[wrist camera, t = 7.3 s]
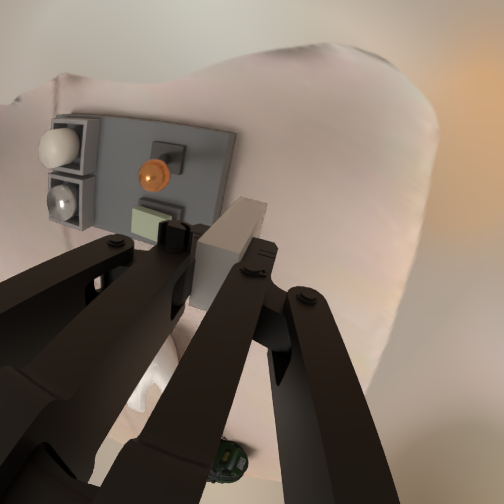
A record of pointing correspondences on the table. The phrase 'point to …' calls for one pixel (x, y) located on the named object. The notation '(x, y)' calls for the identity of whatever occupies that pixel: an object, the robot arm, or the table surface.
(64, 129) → the white button
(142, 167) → the toggle lever
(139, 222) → the rocker switch
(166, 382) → the white wavy slab sculpture
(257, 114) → the table surface
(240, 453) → the headphones
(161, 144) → the switch panel
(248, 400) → the table surface
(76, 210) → the metal button
